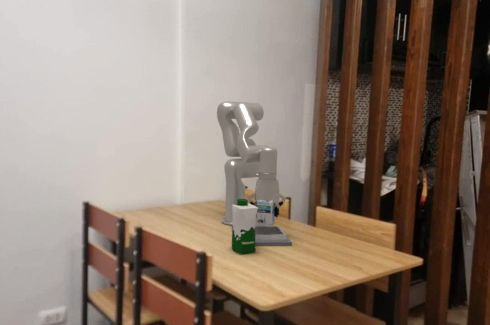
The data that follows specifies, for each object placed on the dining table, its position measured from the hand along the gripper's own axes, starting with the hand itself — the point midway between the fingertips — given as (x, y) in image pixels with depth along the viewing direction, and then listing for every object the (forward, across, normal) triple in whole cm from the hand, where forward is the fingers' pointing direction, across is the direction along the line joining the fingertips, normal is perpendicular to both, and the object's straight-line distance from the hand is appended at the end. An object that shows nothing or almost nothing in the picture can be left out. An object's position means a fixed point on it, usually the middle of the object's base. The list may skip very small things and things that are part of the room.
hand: (266, 216), depth 186 cm
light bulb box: (+3, 0, 0) cm, 3 cm away
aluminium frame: (+9, 0, 0) cm, 9 cm away
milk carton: (+10, -12, -15) cm, 22 cm away
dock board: (+10, 0, 0) cm, 10 cm away
